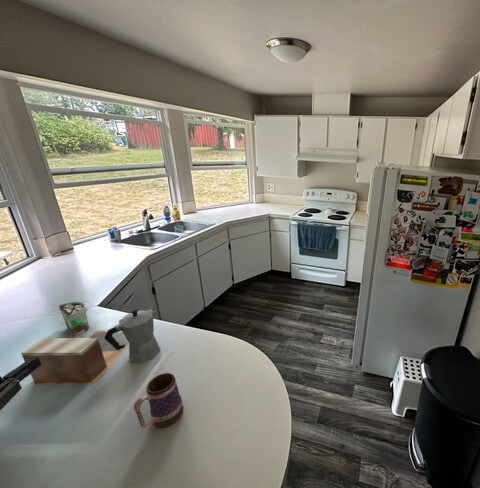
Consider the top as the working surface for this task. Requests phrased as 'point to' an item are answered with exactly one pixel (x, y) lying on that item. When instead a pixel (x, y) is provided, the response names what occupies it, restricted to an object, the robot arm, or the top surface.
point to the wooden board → (107, 350)
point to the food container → (75, 317)
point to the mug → (161, 402)
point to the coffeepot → (137, 335)
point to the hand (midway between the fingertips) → (36, 360)
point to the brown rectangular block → (66, 359)
